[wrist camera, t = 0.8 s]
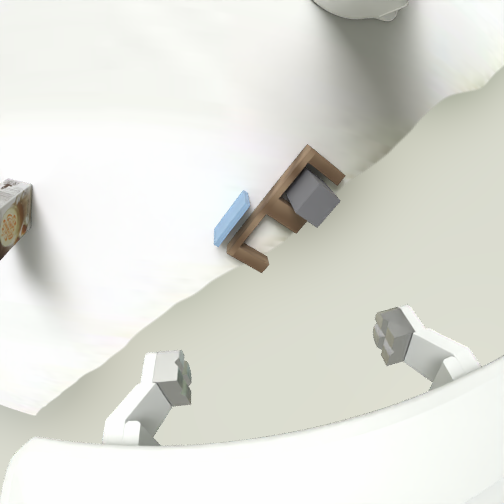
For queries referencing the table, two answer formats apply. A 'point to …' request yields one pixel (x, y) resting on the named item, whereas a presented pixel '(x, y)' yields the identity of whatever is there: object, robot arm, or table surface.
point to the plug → (311, 197)
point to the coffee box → (14, 212)
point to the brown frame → (270, 209)
